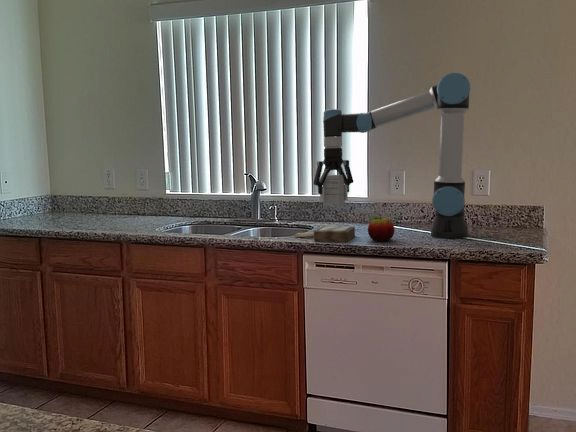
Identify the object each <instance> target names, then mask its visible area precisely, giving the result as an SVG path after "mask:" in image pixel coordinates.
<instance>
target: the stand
mask: <svg viewBox="0 0 576 432" xmlns="http://www.w3.org/2000/svg"><path fill="white" fill-rule="evenodd" d="M355 228H356V227H355V226H337V225H336V226H334V225H333V226H332V225H328V226H324V225H323V226H321V227H320V228H318V229H316V230H314V231H313V233H314V238H313V241H314V240H315V241H314V242H329V241H330V243H331V242H333V243H335V242H336V243H339V242H341V243H348V242H349V241H350V240H352V239H353V238H354V237H356V233H355V232H356V229H355Z"/></svg>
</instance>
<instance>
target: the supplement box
mask: <svg viewBox="0 0 576 432" xmlns="http://www.w3.org/2000/svg"><path fill="white" fill-rule="evenodd" d="M344 185H345V184H344V178H343V175H340V174H328V175H327V176H326V179H325V181H324V183H323V185H322V186H324V199H325V202H322V206H323V207H341V206H343V205H345V204H346V202H345V192H344Z"/></svg>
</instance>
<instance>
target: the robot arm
mask: <svg viewBox="0 0 576 432" xmlns="http://www.w3.org/2000/svg"><path fill="white" fill-rule="evenodd" d="M470 92H471V83H470V81H469V78H467V76H466V75H464V74H462V73H460V72H449V73H446V74H445V75H443V76H442V77H441V78H440V80H439V81H438V83H437V84H436V85H434V86H431V87H430V89H429V90H427V91H424V92H422V93H418V94H415V95H413V96H410V97H407V98H405V99H402V100H399V101H396V102H392V103H391V104H386V105H385V106H382V107H379V108H376V109H373V110H371V111H367V112H357V113H356V112H355V113H343V112H342V109H337V108H336V109H334V108H332V109H325V110H324V111H323V118H322V119H323V120H322V124H323V125H322V126H323V128H322V129H323V147H324V149H323V157H324V158H323V160H317V161H316V170H315V174H314V180H313V185H314V186H316V187H317V192H318V193H317V194H318V195H319V202H321V203H323V202H325V199H324V186H323V183H324V181H325V179H326V176H327V175H329V173H330V172H331V171H337V173H338V175H343V178H344V192H345V201H348V199H349V198H348V194H349V192H350V185H351V184H353V183H354V179H353V175H352V172H351V167H350V160H349V159H344V160H343V148H342V146H343V135H342V134H346V133H360V134H361V133H362V134H364V133H365V134H366V133H368V132H370V131H371V130H375V129H378V128H380V127H383V126H385V125H390V124H393V123H395V122H399V121H400V120H404V119H406V118H407V119H408V118H410V117H412V116H415V115H418V114H422V113H425V112H428V111H431V110H434V109H436V111H438V112H439V113H440V129H439V130H440V131H439V154H438V175H437V177H436V178H435V179H433V197H432V201H431V203H432V206H433V208H434V212H435V215H434V220H433V223H432V227H431V229H430V236H431V237H434V238H439V239H463V238H467V237H469V229H468V225H467V222H466V219H465V203H466V202H465V199H466V198H465V193H466V181H465V179H464V178H463V177H462V169H463V167H462V165H463V151H464V150H463V148H464V145H463V144H464V130H465V129H464V125H465V114H466V113H467V111H469V110H470V109H469V107H470V95H471V94H470ZM342 165H343V167H344V169H343V167H342ZM323 166H325V167H324V169H323ZM322 171H323V172H322ZM321 174H322V175H321Z"/></svg>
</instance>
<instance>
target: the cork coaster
mask: <svg viewBox="0 0 576 432" xmlns="http://www.w3.org/2000/svg"><path fill="white" fill-rule="evenodd" d="M295 236H297V237H314V232H309V231H308V232H298V233H294V237H295ZM297 237H296V238H297Z"/></svg>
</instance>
